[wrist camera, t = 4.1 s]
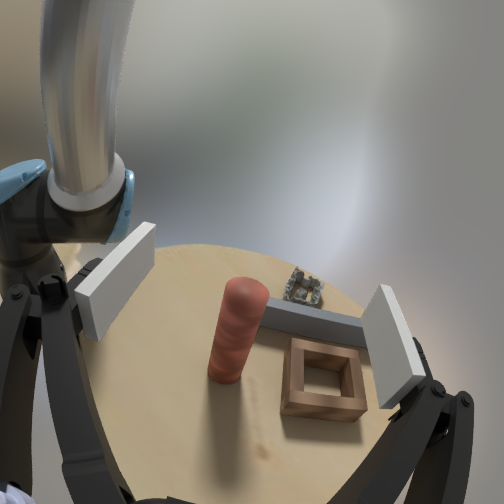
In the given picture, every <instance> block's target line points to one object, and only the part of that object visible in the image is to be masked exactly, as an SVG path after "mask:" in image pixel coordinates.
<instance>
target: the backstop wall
mask: <svg viewBox="0 0 504 504" xmlns="http://www.w3.org/2000/svg"><path fill="white" fill-rule="evenodd" d="M259 326H263V327H267V328H271V329H275V330H279V331H284V332H288V333H293V334H297V335H302V336H306V337H311V338H316V339H321V340H326V341H331V342H336V343H341V344H346V345H352V346H358V347H363V348H367V344H366V339H365V335H364V331H363V327H362V323H361V319H360V318H357V317H352V316H347V315H343V314H339V313H334V312H330V311H325V310H321V309H317V308H313V307H309V306H304V305H300V304H296V303H292V302H288V301H284V300H280V299H276V298H272V297H269V300H268V303H267V305H266V308H265V311H264V314H263V316H262V319H261V322H260V325H259Z"/></svg>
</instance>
